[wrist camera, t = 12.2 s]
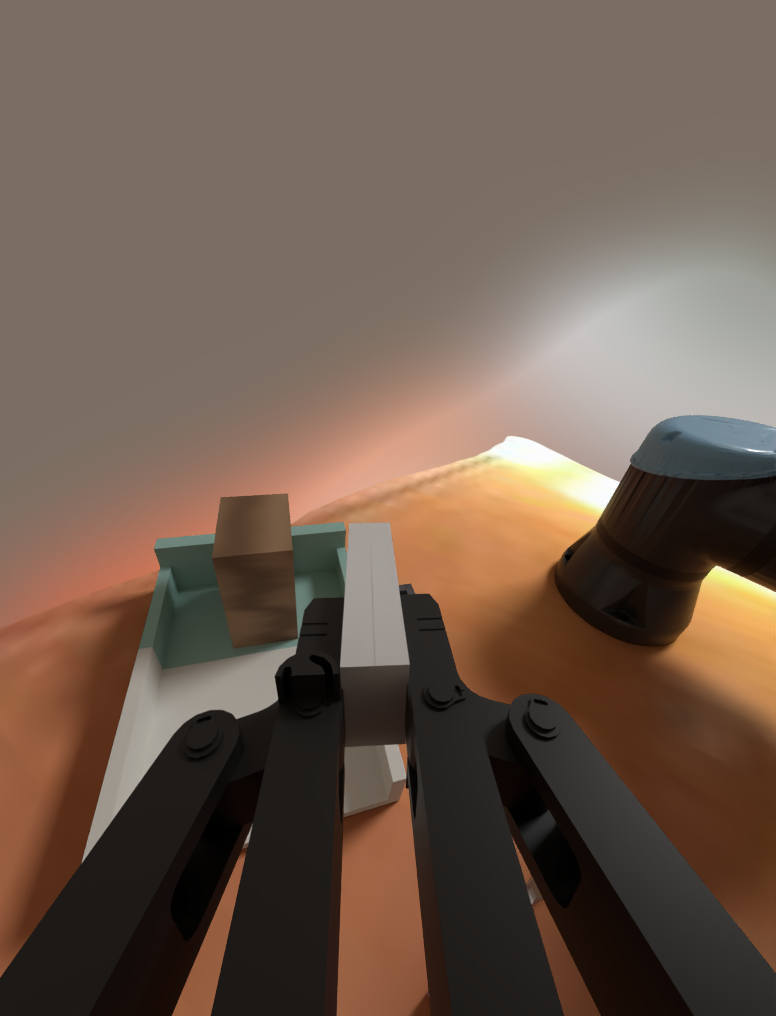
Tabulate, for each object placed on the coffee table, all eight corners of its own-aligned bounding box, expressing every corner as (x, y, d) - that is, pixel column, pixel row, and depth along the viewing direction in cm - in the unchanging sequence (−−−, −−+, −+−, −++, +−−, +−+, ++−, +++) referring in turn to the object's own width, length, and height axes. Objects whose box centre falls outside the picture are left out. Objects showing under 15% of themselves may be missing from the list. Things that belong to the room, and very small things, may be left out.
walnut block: (293, 578, 43) (287, 493, 36) (298, 638, 37) (292, 550, 30) (237, 585, 42) (220, 497, 35) (233, 648, 36) (211, 557, 29)
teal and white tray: (341, 565, 47) (343, 522, 43) (399, 800, 28) (412, 763, 24) (173, 585, 42) (157, 538, 38) (106, 891, 23) (59, 864, 19)
